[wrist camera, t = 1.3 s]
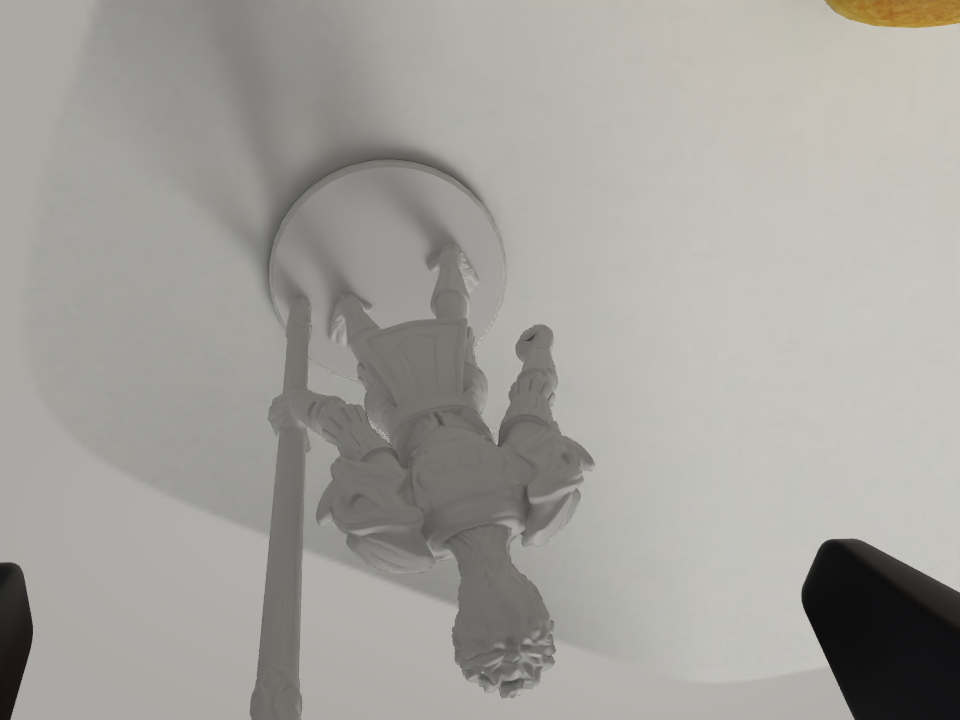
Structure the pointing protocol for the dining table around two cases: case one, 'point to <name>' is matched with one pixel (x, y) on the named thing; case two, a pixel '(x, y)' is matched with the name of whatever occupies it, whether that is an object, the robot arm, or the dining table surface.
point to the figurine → (411, 418)
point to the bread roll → (899, 12)
